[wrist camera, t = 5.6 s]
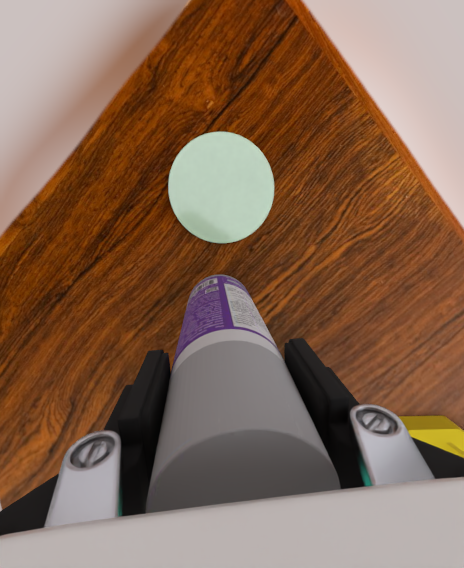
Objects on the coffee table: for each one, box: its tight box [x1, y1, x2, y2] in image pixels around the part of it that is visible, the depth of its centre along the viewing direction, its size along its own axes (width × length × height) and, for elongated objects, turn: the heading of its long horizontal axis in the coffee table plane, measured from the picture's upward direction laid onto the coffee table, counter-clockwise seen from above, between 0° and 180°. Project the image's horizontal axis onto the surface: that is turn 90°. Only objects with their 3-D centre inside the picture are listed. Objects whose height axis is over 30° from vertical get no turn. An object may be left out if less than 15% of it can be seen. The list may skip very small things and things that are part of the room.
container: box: [146, 275, 341, 513], centre depth 13 cm, size 5×5×15 cm
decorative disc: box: [398, 416, 464, 458], centre depth 31 cm, size 17×18×2 cm
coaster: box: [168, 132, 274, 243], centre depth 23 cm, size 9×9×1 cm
